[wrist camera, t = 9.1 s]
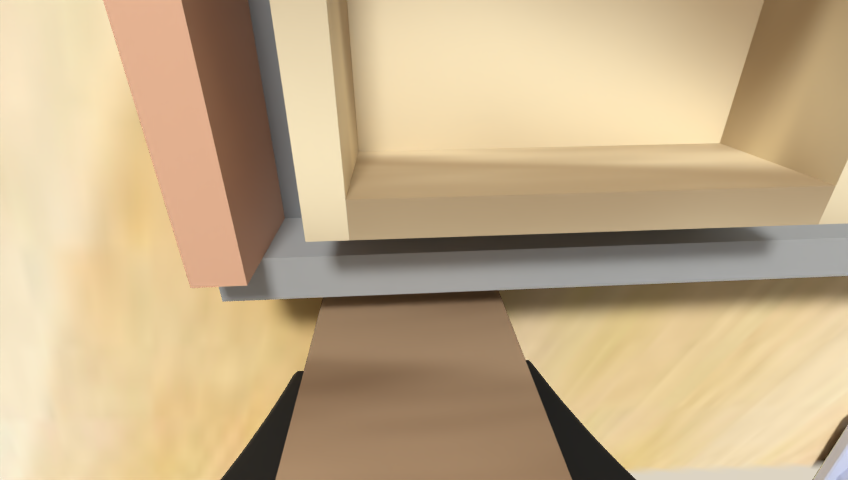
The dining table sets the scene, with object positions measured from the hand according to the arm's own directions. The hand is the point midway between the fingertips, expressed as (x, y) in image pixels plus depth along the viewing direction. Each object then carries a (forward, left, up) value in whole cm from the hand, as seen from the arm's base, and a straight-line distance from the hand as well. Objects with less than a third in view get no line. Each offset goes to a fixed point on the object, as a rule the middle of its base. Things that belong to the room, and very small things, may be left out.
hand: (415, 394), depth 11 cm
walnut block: (0, 0, -2) cm, 2 cm away
